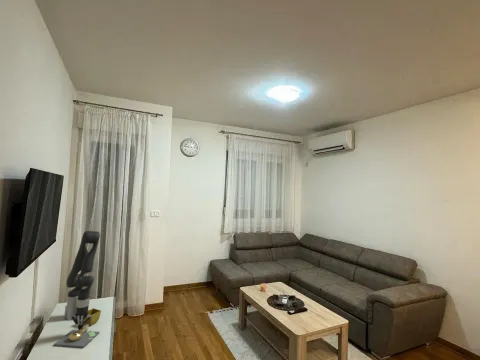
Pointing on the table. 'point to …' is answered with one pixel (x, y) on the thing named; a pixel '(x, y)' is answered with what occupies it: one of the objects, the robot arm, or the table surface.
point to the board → (81, 343)
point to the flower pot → (93, 316)
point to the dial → (77, 334)
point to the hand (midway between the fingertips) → (80, 329)
